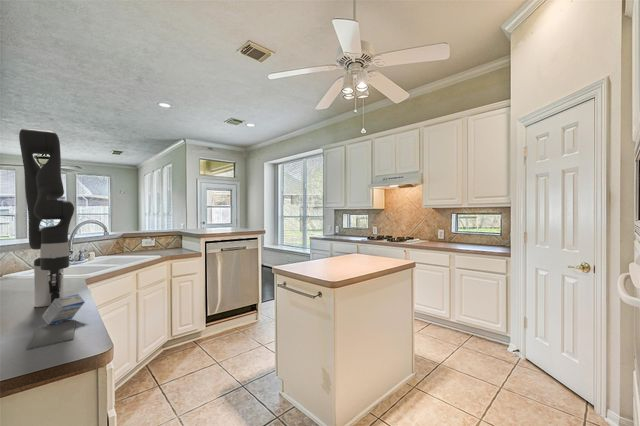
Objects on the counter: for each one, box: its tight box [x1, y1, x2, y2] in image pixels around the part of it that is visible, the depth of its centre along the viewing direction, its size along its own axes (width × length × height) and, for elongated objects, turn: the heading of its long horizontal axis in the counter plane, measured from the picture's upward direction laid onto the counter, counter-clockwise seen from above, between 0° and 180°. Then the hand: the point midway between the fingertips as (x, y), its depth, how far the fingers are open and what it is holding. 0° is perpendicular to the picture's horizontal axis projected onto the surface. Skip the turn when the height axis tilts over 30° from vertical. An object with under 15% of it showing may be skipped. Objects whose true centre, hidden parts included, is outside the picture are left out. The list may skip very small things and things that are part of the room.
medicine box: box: [41, 293, 86, 325], centre depth 101 cm, size 8×4×9 cm
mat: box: [26, 319, 76, 351], centre depth 91 cm, size 20×10×1 cm, turn 40°
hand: (55, 303), depth 101 cm, fingers closed
